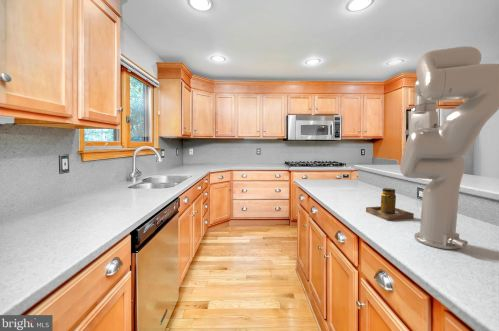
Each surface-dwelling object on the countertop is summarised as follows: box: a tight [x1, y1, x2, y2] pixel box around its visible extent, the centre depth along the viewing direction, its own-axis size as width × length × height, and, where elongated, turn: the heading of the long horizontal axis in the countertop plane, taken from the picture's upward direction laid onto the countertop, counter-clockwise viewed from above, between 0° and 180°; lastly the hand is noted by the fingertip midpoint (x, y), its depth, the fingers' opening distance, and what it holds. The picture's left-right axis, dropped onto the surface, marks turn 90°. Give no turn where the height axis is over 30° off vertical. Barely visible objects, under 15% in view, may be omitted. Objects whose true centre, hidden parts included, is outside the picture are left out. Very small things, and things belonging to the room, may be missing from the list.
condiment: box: [379, 187, 399, 215], centre depth 110 cm, size 7×8×12 cm
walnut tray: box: [365, 205, 415, 221], centre depth 111 cm, size 14×14×2 cm
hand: (422, 149), depth 100 cm, fingers open, 9 cm apart
